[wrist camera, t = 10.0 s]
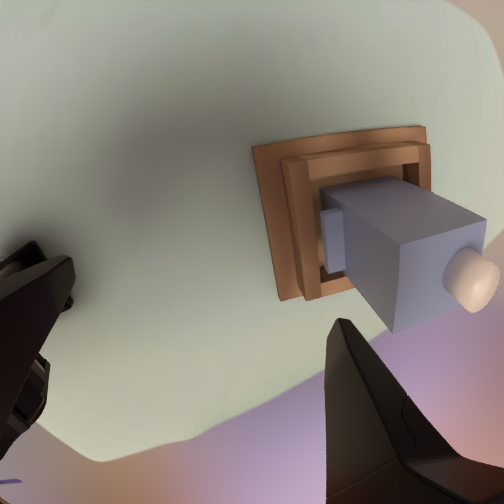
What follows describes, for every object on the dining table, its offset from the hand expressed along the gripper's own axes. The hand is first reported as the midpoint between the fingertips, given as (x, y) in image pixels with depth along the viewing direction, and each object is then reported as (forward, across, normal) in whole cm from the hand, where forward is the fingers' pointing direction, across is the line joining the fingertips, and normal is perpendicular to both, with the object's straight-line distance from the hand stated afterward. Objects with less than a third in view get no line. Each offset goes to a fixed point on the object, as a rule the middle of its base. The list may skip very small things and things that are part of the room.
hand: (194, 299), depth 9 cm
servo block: (+14, -9, +1) cm, 17 cm away
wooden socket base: (+15, -9, +1) cm, 17 cm away
